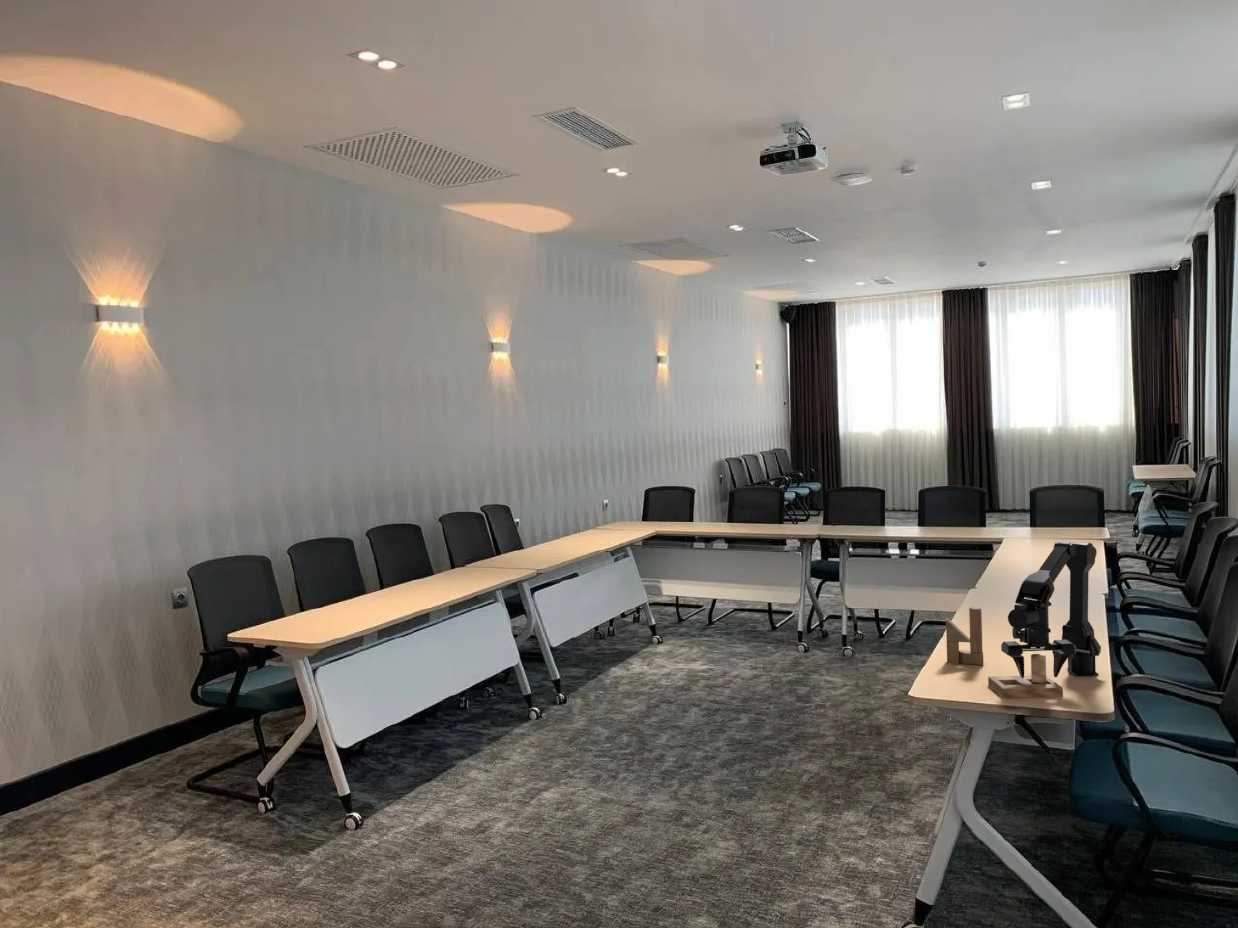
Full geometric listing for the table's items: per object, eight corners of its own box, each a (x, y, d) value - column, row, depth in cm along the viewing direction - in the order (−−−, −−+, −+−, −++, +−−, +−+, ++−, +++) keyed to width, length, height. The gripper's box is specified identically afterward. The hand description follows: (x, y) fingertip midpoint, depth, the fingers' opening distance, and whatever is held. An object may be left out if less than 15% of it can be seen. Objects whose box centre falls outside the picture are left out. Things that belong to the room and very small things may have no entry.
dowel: (1043, 687, 250) (1042, 653, 249) (1049, 692, 246) (1048, 657, 245) (1029, 688, 250) (1028, 653, 249) (1034, 692, 246) (1034, 657, 245)
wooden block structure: (947, 660, 281) (945, 605, 280) (983, 662, 277) (981, 606, 276) (947, 663, 278) (945, 607, 277) (983, 665, 274) (981, 609, 273)
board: (1044, 683, 253) (1044, 674, 253) (1062, 696, 242) (1062, 687, 241) (988, 684, 254) (988, 676, 254) (1004, 697, 242) (1003, 689, 242)
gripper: (1058, 615, 254) (1059, 668, 255) (993, 617, 255) (994, 670, 256) (1076, 624, 243) (1077, 679, 244) (1008, 626, 244) (1009, 681, 245)
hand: (1038, 677), depth 248 cm, fingers open, 9 cm apart
